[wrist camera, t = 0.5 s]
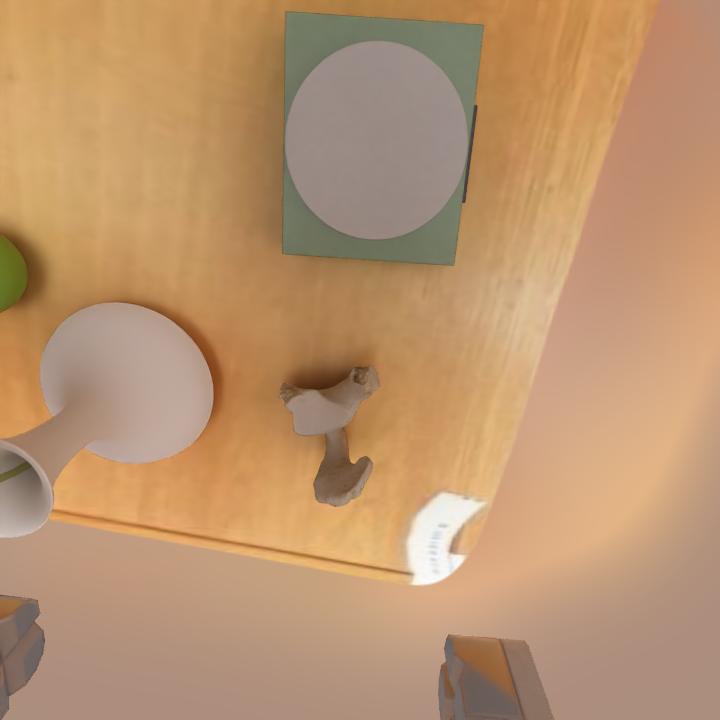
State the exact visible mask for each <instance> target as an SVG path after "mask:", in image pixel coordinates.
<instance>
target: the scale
mask: <svg viewBox="0 0 720 720" xmlns="http://www.w3.org/2000/svg"><path fill="white" fill-rule="evenodd" d="M483 31H484V25H479V24H465V23H450V22H435V21H421V20H406V19H391V18H376V17H362V16H347V15H332V14H318V13H303V12H288V11H286V17H285V90H284V163H283V236H282V254H289V255H304V256H318V257H333V258H347V259H362V260H377V261H391V262H406V263H420V264H435V265H449V266H454V262H455V254H456V246H457V238H458V230H459V222H460V214H461V206H462V203H465V200H466V192H467V184H468V176H469V168H470V160H471V152H472V145H473V137H474V129H475V121H476V113H477V105H474V103H475V95H476V87H477V79H478V71H479V63H480V55H481V47H482V39H483Z"/></svg>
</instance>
